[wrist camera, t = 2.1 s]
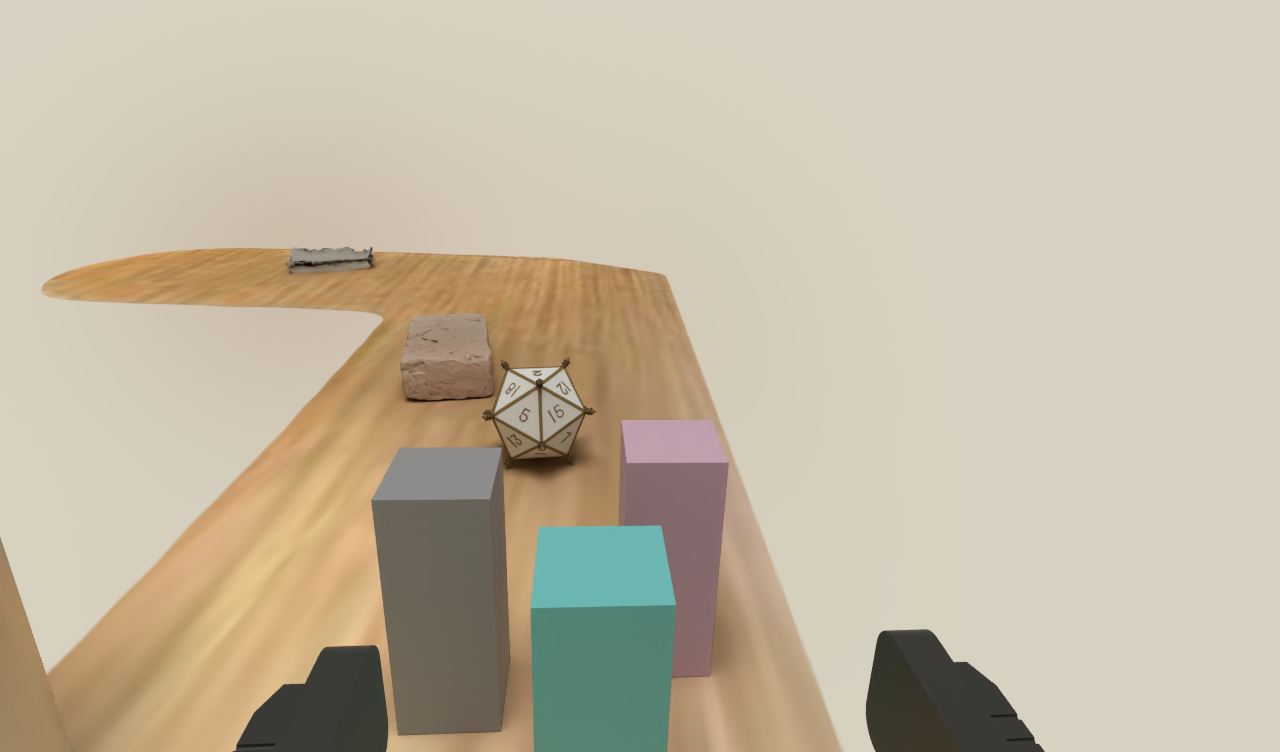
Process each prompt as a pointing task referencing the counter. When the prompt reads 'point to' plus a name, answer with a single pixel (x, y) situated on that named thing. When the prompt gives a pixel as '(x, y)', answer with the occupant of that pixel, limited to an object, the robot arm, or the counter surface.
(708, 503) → the plum block
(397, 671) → the charcoal block
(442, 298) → the counter surface
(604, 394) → the counter surface
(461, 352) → the brick
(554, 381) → the game die
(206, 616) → the counter surface
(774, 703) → the counter surface
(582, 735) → the teal block
